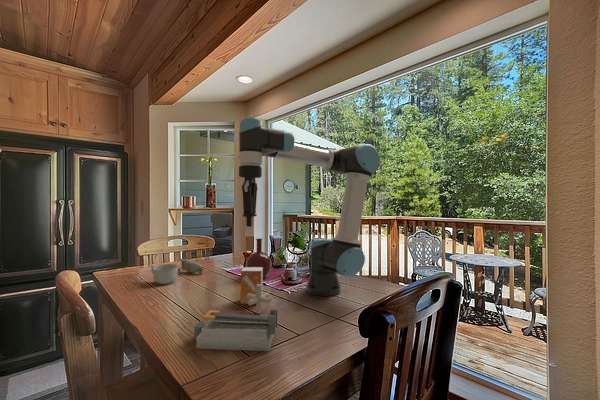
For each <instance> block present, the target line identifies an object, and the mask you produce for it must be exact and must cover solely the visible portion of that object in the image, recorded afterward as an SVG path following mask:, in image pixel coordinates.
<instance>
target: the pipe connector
mask: <svg viewBox="0 0 600 400" xmlns="http://www.w3.org/2000/svg"><path fill="white" fill-rule="evenodd" d="M261 289H262V290H263V287H262V285H261V284H257V285H256V295H254V294H250V293H248V294H247V298H248V299H250V300H248V302H247V303H248V306H253V305H256V307H255V313H256V314H257V315H259V314H261V313H262V303H265V304H271V303H272V298H271V297H270V293H269V292H268V291H267V292H265V293H262V295H261ZM269 297H270V298H269ZM255 303H256V304H255Z"/></svg>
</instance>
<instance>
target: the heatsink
mask: <svg viewBox="0 0 600 400" xmlns="http://www.w3.org/2000/svg"><path fill="white" fill-rule="evenodd" d="M269 311H270V314H268V315H267V316H268V322H255V321H242V320H229V319H217V318H215V319H214V320H207V323H206V321H205V320H204V321H203V320H199V322H198V323H196V325H195V326H194V329H193V333H194V336H193V338H194V340H193V341H194V342H196V345H195V346H196V347H195V348H196V349H202V350H203V349H204V350H231V351H252V352H253V351H255V352H256V351H257V352H270V350H271V347H272V344H273V341H274V337H275V335H276V328H278V319H279V318H278V315H279V313H278V309H277V308H271V309H270V310H269ZM258 315H259V314H258ZM259 316H263V315H259Z"/></svg>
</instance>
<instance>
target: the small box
mask: <svg viewBox="0 0 600 400" xmlns="http://www.w3.org/2000/svg"><path fill="white" fill-rule="evenodd" d="M263 278H264V277H263V267H246V266H245V267H244V266H243V267H242V268H241V270H240V304H241V305H247V304H248V303H247V302H248V300H250V299H248V298H247V294H248V293H250V294H254V295H256V285H257V284H261V285H262V289H261V295H262V294H263V286H264V285H263V284H264V281H263ZM254 305H256V303H255V304H254Z"/></svg>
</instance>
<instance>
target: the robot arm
mask: <svg viewBox="0 0 600 400" xmlns="http://www.w3.org/2000/svg"><path fill="white" fill-rule="evenodd" d="M238 134H239V135H238V137H239V138H238V139H239V140H238V142H239V144H238V145H239V151H238V152H239V153H238V154H239V155H237V159H238V160H239V161H238V162H239V163H238V164H239V166H238V176H239V178H243V179H244V181H243V183H242V185H241V190H242V208H243V209H242V210H243V214H242V217H244V218H245V220H244V222H245V223H244V225H245V226H244V228H245V229H244V233H245V235H244V236H245V237H255V217H257V214H258V213H257V196H258V183H256V182H257V181H256V179H260V178H262V173H263V171H262V169H263V168H262V164H263V157H268V158H275V159H279V160H284V161H289V162H293V163H294V162H295V163H299V164H303V165H310V166H315V167H318V168H319V167H320V168H321V169H322V170H324V171H328V172H333V173H337V174H341V175H343V176H344V177H345V179H346V180H345V187H344V193H343V200H342V205H341V211H340V212H341V213H340V216H339V222H338V228H337V235H336V236H334V237H333V238H326V239H324V238H322V239H315V240H312V241H311V244H310V274H309V277H308V281H307V284H306V292H307V293H308V294H310V295H314V296H321V297H322V296H323V297H325V296H326V297H328V296H329V297H331V296H332V297H333V296H335V295H338V294H340V293H341V290H342V289H341V283H340V281H339V280H340V279H339V276H338V274H339V275H341V276H345V277H353V276H356V275H357V274H358V273H360V272H361V271H362V269H363V267H364V265H365V262H366V256H365V254H364V251H363V250H362V249H361V247H362V243H361V242H360V241H361V240H359V236H360V229H361V224H362V223H361V222H362V217H363V211H364V205H365V204H364V203H365V198H366V191H367V185H368V182H369V181H371V180H372V179H373V178H372V177H373V173H375V172H377V171H378V170H379V167H380V166H381V157H380V156H381V155H380V153H379V152H378V150H377V148H375V146H373V145H372V144H370V143H366V144H365V143H364V144H358V145H356V146H355V145H354V146H351V147H345V148H340V149H331V148H326V149H322V148H319V147H318V148H316V147H313V146H309V145H306V144H305V145H304V144H301V143H296V142H295V141H296V140H295V139H296V138H295V135H294V133H293V132H292V131H289V130H286V129H276V128H270V127H265V126H263V122H262V120H261V119H258V118H257V117H256V118H255V117H246V118H242V119H240V122H239V131H238Z"/></svg>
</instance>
